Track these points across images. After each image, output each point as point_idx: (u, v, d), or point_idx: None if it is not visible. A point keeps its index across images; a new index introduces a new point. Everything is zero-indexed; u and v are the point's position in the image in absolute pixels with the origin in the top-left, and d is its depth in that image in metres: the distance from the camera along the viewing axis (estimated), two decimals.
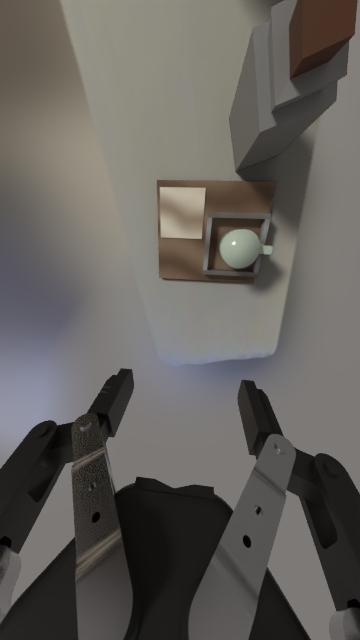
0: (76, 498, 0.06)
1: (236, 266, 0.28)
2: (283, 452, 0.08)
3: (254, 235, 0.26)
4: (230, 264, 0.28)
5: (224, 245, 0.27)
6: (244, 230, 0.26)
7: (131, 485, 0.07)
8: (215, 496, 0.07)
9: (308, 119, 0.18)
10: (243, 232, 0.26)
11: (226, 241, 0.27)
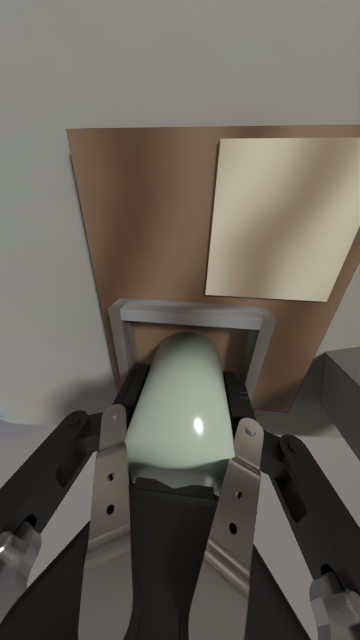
0: (96, 484, 0.06)
1: None
2: (252, 433, 0.09)
3: (216, 492, 0.09)
4: None
5: (191, 440, 0.07)
6: None
7: (131, 485, 0.07)
8: (215, 496, 0.07)
9: None
10: None
11: (204, 445, 0.07)
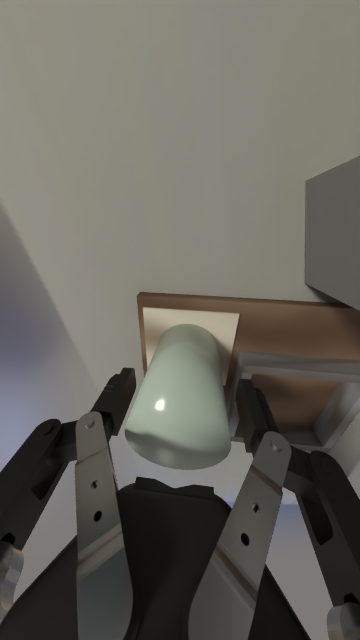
0: (79, 496, 0.06)
1: (130, 433, 0.09)
2: (279, 449, 0.08)
3: (212, 462, 0.10)
4: (133, 422, 0.09)
5: (188, 411, 0.08)
6: (227, 448, 0.09)
7: (131, 485, 0.07)
8: (215, 496, 0.07)
9: None
10: (223, 446, 0.09)
11: (200, 415, 0.08)
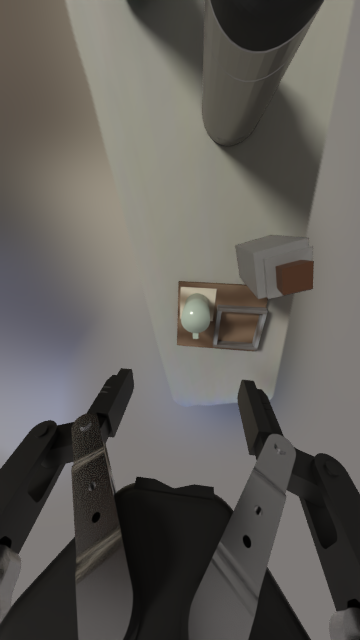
0: (76, 498, 0.06)
1: (182, 319, 0.34)
2: (283, 452, 0.08)
3: (205, 328, 0.34)
4: (183, 314, 0.34)
5: (198, 308, 0.33)
6: (209, 321, 0.34)
7: (131, 485, 0.07)
8: (215, 496, 0.07)
9: None
10: (208, 320, 0.33)
11: (201, 309, 0.33)
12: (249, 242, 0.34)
